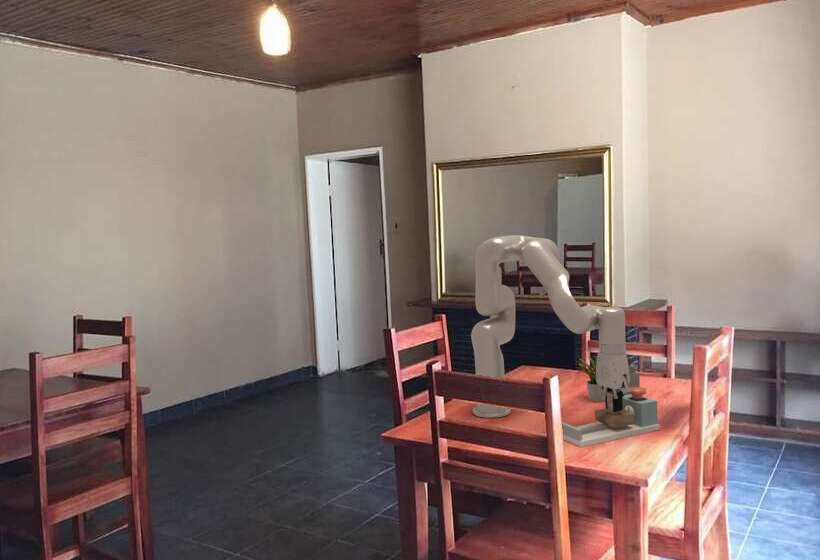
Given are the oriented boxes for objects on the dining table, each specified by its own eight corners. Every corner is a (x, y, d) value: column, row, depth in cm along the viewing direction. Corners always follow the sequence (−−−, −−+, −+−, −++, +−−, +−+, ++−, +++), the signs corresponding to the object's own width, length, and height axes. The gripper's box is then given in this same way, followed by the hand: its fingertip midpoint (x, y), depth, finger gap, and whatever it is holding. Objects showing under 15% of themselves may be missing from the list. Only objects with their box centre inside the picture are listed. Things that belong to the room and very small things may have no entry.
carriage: (595, 420, 206) (594, 391, 205) (613, 416, 208) (612, 387, 208) (615, 427, 197) (614, 397, 197) (634, 423, 200) (633, 393, 199)
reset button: (624, 398, 207) (624, 388, 207) (637, 395, 209) (637, 386, 209) (636, 402, 202) (636, 392, 202) (650, 399, 205) (649, 389, 204)
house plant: (617, 393, 244) (616, 348, 243) (625, 404, 231) (624, 356, 229) (576, 394, 246) (575, 350, 244) (582, 405, 232) (581, 358, 231)
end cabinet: (617, 419, 210) (617, 396, 209) (633, 415, 212) (633, 393, 212) (640, 427, 201) (640, 404, 200) (657, 423, 203) (657, 400, 203)
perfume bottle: (621, 416, 217) (620, 361, 215) (610, 411, 223) (608, 357, 222) (640, 414, 219) (639, 359, 217) (628, 408, 225) (626, 355, 224)
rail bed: (555, 435, 202) (554, 420, 201) (631, 419, 213) (631, 405, 213) (581, 447, 191) (580, 431, 190) (660, 429, 202) (659, 414, 202)
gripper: (584, 346, 207) (586, 405, 208) (621, 355, 192) (622, 418, 194) (604, 343, 210) (606, 401, 211) (641, 351, 195) (643, 414, 197)
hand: (614, 409), depth 202 cm, fingers closed on carriage, 2 cm apart
